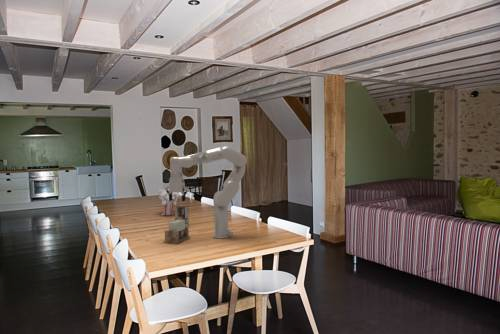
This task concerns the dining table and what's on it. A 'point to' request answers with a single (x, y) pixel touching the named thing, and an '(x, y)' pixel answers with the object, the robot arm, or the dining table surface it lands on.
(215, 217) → the robot arm
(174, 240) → the peg stand
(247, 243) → the dining table surface
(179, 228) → the grey green block
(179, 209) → the coffee box
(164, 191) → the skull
